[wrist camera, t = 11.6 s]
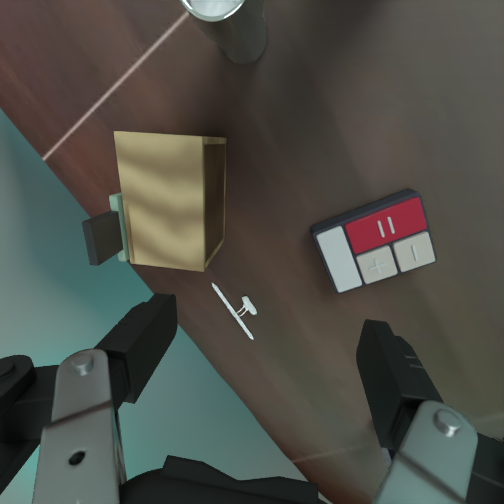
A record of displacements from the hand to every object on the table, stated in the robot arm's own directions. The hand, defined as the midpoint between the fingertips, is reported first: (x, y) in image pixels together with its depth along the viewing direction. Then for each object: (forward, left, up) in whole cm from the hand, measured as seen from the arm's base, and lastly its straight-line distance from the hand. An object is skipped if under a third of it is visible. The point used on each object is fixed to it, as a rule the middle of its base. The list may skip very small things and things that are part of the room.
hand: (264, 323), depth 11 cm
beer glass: (-20, -3, -32) cm, 38 cm away
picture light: (+20, -10, -32) cm, 39 cm away
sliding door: (0, -20, -31) cm, 37 cm away
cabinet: (-2, -14, -32) cm, 35 cm away
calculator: (+9, +12, -32) cm, 36 cm away
